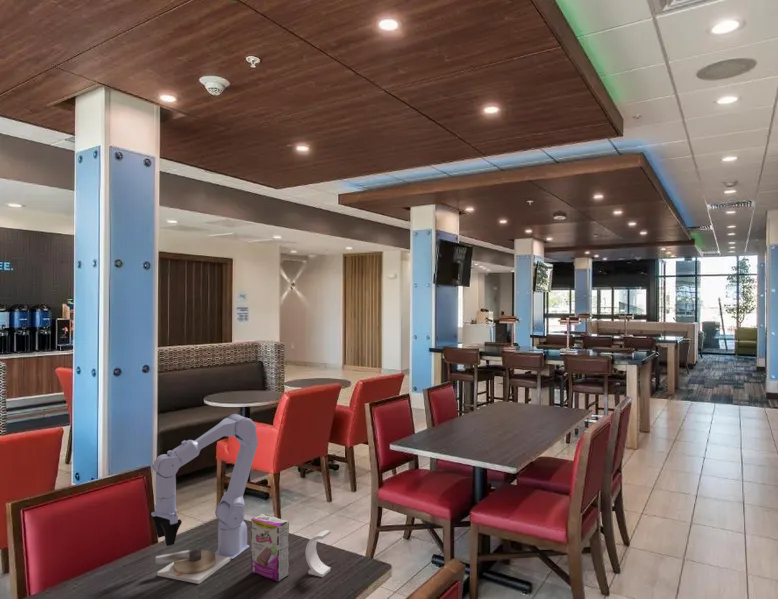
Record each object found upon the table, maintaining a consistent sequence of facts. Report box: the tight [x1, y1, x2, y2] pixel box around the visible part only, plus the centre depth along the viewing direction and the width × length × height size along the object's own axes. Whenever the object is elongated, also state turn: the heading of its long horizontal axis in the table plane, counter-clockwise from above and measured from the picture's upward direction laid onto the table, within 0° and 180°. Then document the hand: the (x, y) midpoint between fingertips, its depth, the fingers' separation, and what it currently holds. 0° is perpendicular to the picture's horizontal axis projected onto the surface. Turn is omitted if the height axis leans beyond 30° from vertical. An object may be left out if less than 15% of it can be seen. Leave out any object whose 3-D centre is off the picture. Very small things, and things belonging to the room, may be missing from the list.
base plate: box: [156, 555, 231, 585], centre depth 164 cm, size 15×15×1 cm
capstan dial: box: [155, 546, 215, 574], centre depth 163 cm, size 17×12×4 cm
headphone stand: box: [305, 529, 332, 578], centre depth 161 cm, size 5×6×12 cm
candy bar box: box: [250, 513, 290, 582], centre depth 160 cm, size 11×5×16 cm, turn 59°
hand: (165, 540), depth 162 cm, fingers open, 7 cm apart
